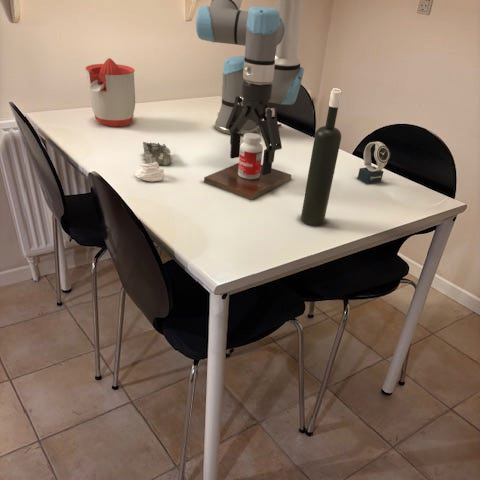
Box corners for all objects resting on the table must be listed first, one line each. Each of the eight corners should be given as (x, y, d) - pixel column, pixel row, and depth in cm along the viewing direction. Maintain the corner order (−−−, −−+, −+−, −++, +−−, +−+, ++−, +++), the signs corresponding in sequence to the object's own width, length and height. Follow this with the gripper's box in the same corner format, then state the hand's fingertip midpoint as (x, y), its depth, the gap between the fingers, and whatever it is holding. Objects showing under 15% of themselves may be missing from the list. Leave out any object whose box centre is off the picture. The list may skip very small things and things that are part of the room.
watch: (371, 186, 138) (380, 148, 131) (353, 176, 144) (362, 139, 137) (385, 184, 141) (396, 146, 134) (367, 174, 146) (376, 137, 139)
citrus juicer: (78, 124, 162) (70, 58, 149) (108, 113, 175) (103, 51, 162) (118, 133, 158) (112, 66, 145) (145, 121, 170) (143, 58, 158)
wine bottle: (311, 213, 121) (335, 84, 102) (328, 222, 118) (356, 90, 99) (295, 218, 118) (317, 86, 99) (313, 228, 114) (338, 93, 96)
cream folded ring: (138, 186, 128) (136, 169, 124) (132, 174, 132) (130, 158, 129) (167, 182, 130) (166, 165, 127) (160, 170, 134) (159, 154, 131)
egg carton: (171, 166, 139) (171, 152, 136) (145, 166, 137) (144, 152, 135) (167, 153, 147) (167, 139, 144) (142, 153, 145) (142, 139, 143)
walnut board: (245, 164, 144) (246, 159, 143) (290, 179, 138) (291, 174, 137) (203, 182, 131) (204, 177, 130) (251, 200, 124) (252, 194, 123)
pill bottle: (233, 175, 133) (236, 134, 126) (247, 170, 137) (250, 130, 130) (250, 182, 130) (254, 140, 123) (264, 176, 134) (268, 136, 127)
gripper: (215, 71, 124) (212, 153, 137) (280, 95, 109) (269, 183, 122) (237, 69, 128) (232, 149, 141) (303, 92, 113) (290, 178, 126)
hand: (249, 165), depth 132 cm, fingers open, 13 cm apart
